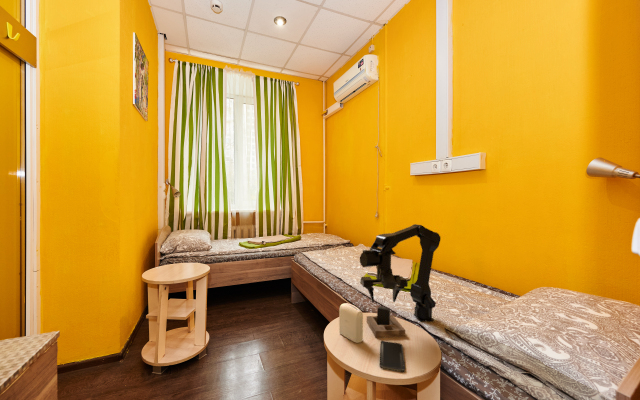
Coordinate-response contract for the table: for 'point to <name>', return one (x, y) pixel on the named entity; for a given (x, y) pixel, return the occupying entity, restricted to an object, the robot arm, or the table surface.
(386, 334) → the slot board
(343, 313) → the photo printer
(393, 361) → the phone
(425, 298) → the robot arm
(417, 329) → the table surface
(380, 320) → the ink cartridge
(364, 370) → the table surface
